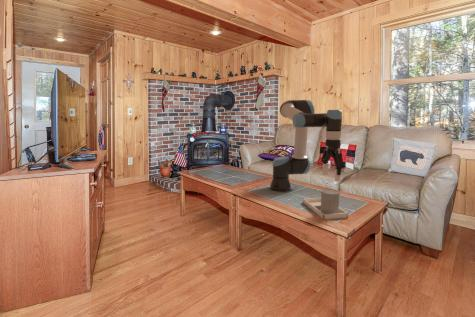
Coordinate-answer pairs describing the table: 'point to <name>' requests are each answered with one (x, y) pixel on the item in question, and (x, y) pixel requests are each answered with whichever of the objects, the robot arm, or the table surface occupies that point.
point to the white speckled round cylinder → (329, 201)
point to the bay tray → (316, 207)
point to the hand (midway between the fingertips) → (331, 177)
